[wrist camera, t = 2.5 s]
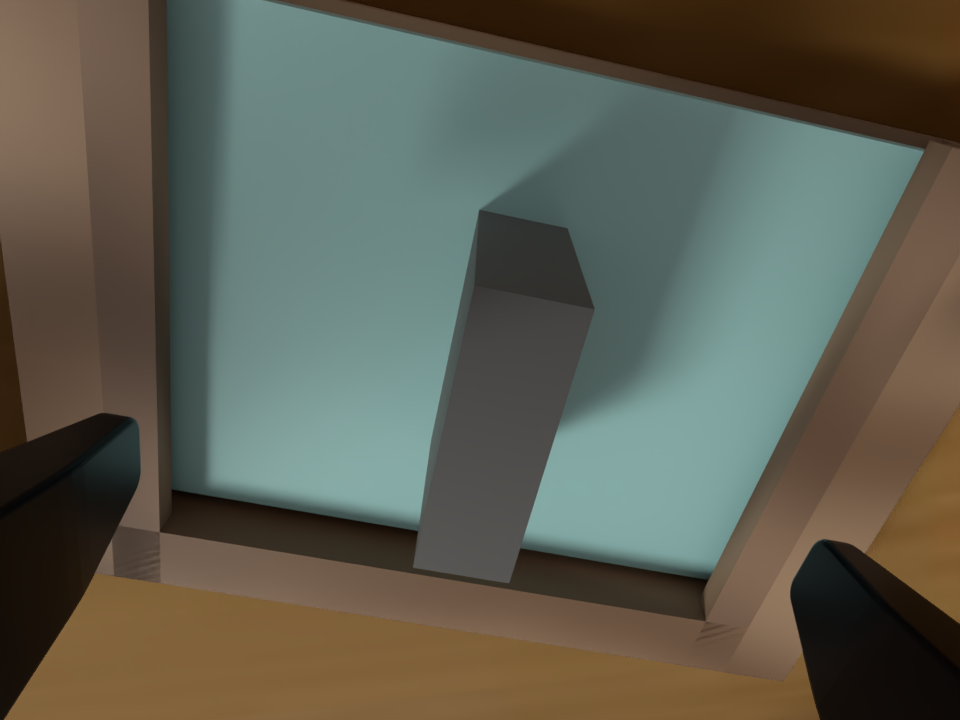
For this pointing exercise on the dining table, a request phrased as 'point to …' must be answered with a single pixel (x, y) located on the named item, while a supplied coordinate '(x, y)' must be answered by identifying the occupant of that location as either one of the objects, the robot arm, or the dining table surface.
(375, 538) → the wooden tray
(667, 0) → the dining table surface
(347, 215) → the cover plate
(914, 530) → the dining table surface
